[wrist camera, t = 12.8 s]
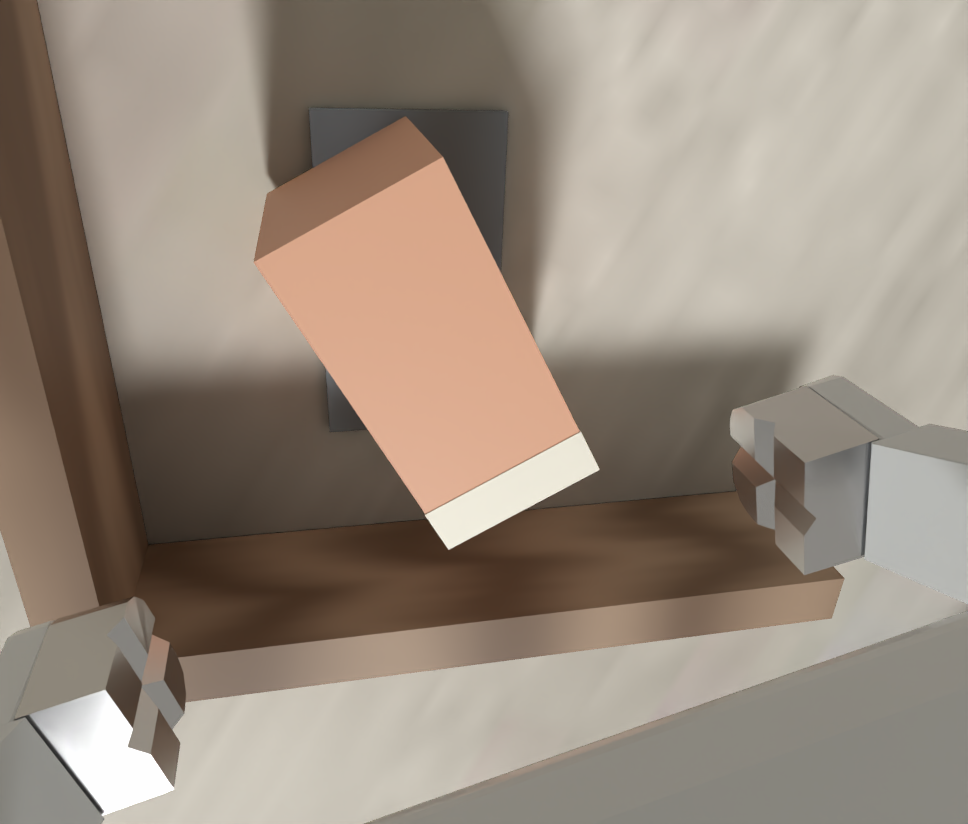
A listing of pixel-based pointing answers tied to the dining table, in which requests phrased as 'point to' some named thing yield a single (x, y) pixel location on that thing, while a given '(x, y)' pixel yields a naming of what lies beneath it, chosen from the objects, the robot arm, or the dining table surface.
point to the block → (421, 331)
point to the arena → (344, 550)
